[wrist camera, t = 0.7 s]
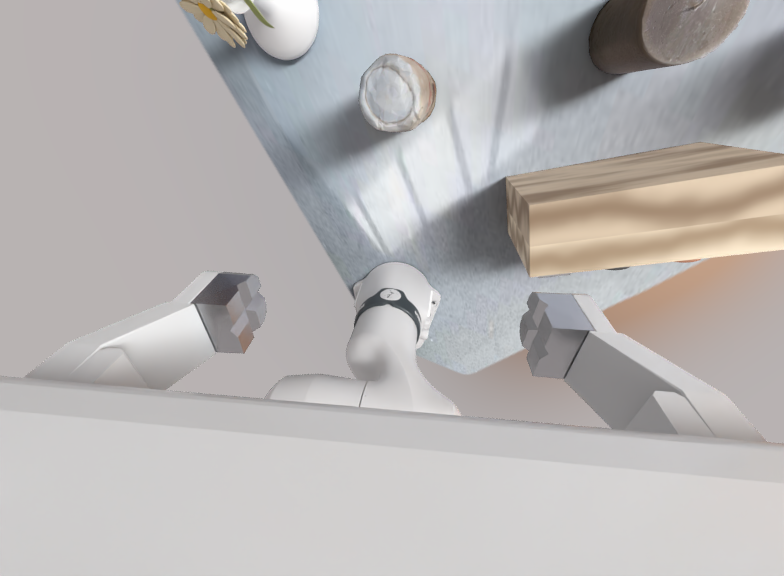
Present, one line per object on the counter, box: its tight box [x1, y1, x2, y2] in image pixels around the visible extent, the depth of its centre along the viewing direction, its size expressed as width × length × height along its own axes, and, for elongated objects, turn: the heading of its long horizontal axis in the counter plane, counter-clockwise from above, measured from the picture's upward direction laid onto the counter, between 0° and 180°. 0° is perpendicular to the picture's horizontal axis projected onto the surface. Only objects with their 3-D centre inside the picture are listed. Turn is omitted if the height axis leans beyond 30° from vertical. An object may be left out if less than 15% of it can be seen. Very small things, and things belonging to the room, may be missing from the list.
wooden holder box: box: [506, 142, 784, 277], centre depth 46 cm, size 10×28×18 cm, turn 102°
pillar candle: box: [589, 0, 750, 74], centre depth 37 cm, size 10×10×15 cm
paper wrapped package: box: [358, 54, 436, 132], centre depth 42 cm, size 8×8×20 cm
